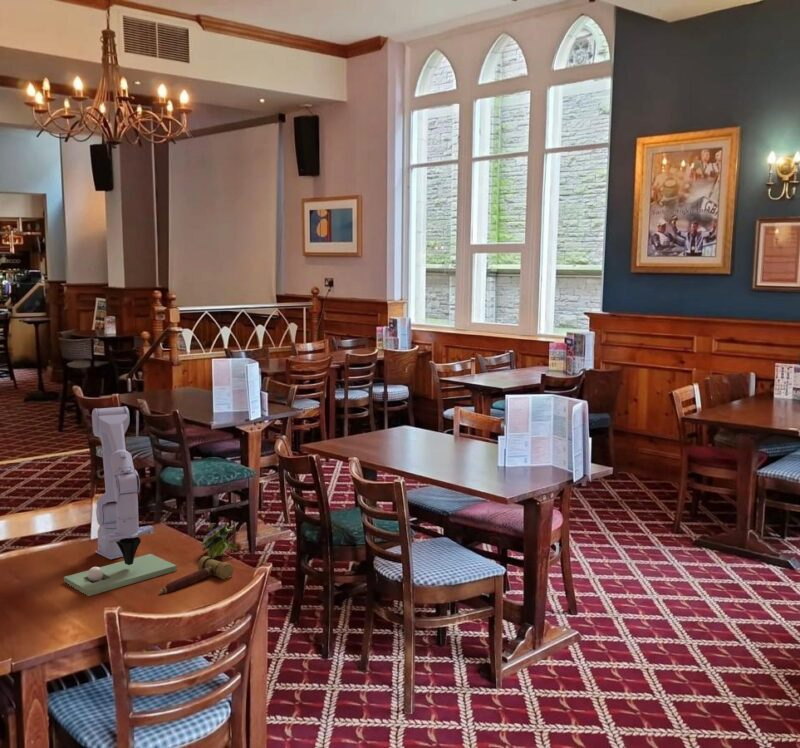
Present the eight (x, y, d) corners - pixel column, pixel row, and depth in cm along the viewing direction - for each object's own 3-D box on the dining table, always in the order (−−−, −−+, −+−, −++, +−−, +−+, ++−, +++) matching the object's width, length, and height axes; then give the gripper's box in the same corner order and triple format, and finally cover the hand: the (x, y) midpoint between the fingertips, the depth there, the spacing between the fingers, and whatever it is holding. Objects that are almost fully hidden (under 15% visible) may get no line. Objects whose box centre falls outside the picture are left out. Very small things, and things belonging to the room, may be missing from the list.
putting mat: (64, 582, 223) (63, 576, 223) (150, 558, 242) (150, 553, 242) (88, 596, 214) (88, 590, 213) (176, 570, 232) (176, 565, 232)
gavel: (171, 588, 212) (147, 579, 218) (172, 605, 213) (148, 595, 219) (233, 561, 228) (209, 553, 234) (234, 577, 229) (210, 568, 235)
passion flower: (211, 568, 249) (215, 530, 255) (244, 565, 247) (247, 526, 252) (192, 558, 240) (197, 519, 246) (226, 554, 237) (230, 515, 243)
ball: (97, 582, 225) (84, 582, 222) (98, 567, 226) (84, 567, 223) (106, 580, 223) (92, 581, 220) (106, 565, 224) (93, 565, 221)
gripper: (109, 525, 220) (111, 574, 221) (158, 514, 230) (159, 560, 232) (97, 519, 225) (99, 567, 226) (145, 508, 235) (147, 554, 237)
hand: (128, 563), depth 229 cm, fingers closed
